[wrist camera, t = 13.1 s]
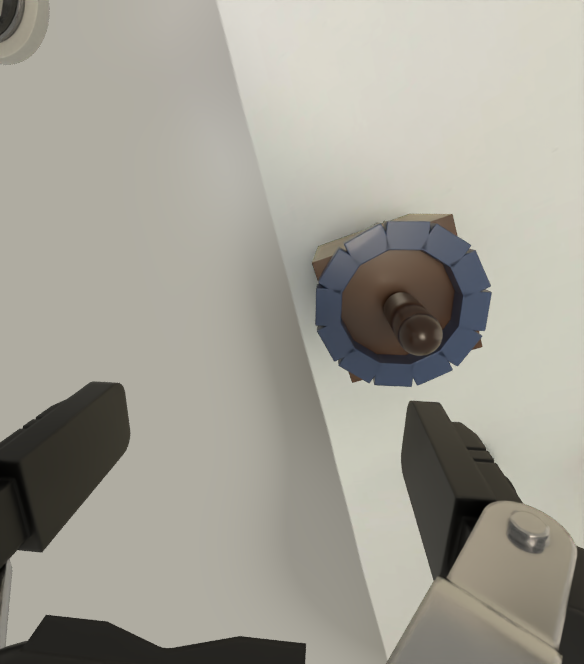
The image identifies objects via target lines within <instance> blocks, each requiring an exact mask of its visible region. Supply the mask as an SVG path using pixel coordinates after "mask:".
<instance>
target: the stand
mask: <svg viewBox="0 0 584 664" xmlns="http://www.w3.org/2000/svg"><path fill="white" fill-rule="evenodd" d="M391 221H430V223H436V224H439V225H440V226H442V227H443V228H445V229H446V230H448V231H450V232H451V233H453V234H454V235H456V236H457V232H456V227H455V223H454V219H453V214H408V215H405V216H402V217H399V218H396V219H394V220H391ZM382 226H383V223H382ZM360 232H361V231H360ZM360 232H357V233H354V234H351V235H348V236H346V237H343V238H340V239H337V240H334V241H331V242H329V243H326V244H323V245H320V246H318V248H317V251H316V253H315V256H314V259H313V261H312V265H313V268H314V271H315V274H316V277H317V280H318V281H319V277H320V275H321V274H322V272H323V271H324V269H325V267H326V266H327V264H328V262H329V261H330V259H331V258H332V256H333V254H334V253H335V251H336V249H337V248H338V247H341V248H343V249H344V250H346V248H345V246H344V244H343V242H344V241H345V240H347V239H349V238H351V237H353V236H354V235H356V234H358V233H360ZM346 251H347V250H346ZM454 293H455V290H454V287H453V285H452V283H451V281H450V279H449V277H448V274H447V272H446V270H445V268H444V266H443V264H442V263H440V262H439V261H437V260H436V259H434V258H432V257H431V256H429V255H428V254H426V253H424V252H423V251H421V250H388V251H386V252H384V253H382V254H380V255H379V256H377V257H375V258H373V259H371V260H369V261H368V262H366V263H364V264H362V265H360V266H359V268H358V269H357V271H356V272H355V274H354V275H353V277H352V278H351V280H350V282H349V283H348V285H347V286H346V288H345V289H344V291H343V292H342V311H341V318H342V320H343V322H344V324H345V326H346V327H347V329H348V331H349V333H350V335H351V337H352V338H353V340H354V341H355V342H357V343H359V344H361V345H362V346H364V347H366V348H367V349H369V350H371V351H372V352H374V353H376V354H383V355H408V354H413V355H417V356H423V355H428V354H430V353H432V352H434V351H435V350H436V349H437V348H438V347H439V345H440V344H441V341H442V336H443V331H442V330H443V329H444V328H445V326H446V325H447V324H448V323H449V321H450V320H451V315H452V307H453V300H454ZM477 332H478V333H479V331H477ZM481 347H482V342H481V339H480V340H479V341H478V342H477V344H476V345H475V346H474V347H473V348H472V350H473V349H477V348H481ZM348 372H349V371H348ZM349 375H350V378H351V381H352V383H353V382H357V381H361V380H362V379H361V378H359V377H357V376H356V375H354V374H352V373H350V372H349Z"/></svg>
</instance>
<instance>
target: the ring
mask: <svg viewBox="0 0 584 664" xmlns="http://www.w3.org/2000/svg"><path fill="white" fill-rule="evenodd" d="M343 244H344V246H345V248H346V250H347V251H346V250H344V249H343V248H341V247H338V248H337V249H336V251H335V253H334V254H333V256H332V258H331V259H330V261H329V262H328V264H327V266H326V267H325V269H324V271H323V272H322V274H321V275H320V277H319V281H318V283H319V284H317V288H316V320H315V325H316V326H318V327H317V332H318V334H319V336H320V337H321V339H322V341H323V343H324V344H325V346H326V348H327V350H328V351H329V353H330V355H331V357H332V358H333V360H334V361H337V360H338V364H339V366H340V367H342V368H344V369H345V370H347V371H349V372H350V373H352V374H354V375H356V376H357V377H359V378H361V379H362V380H364V381H366V382H368V383H370V382H371V380H372V379H373V381H374V385H383V386H405V387H412V380H413V379H414V380H415V382H416V384H417V385H420V384H423V383H425V382H427V381H429V380H432V379H434V378H436V377H438V376H441V375H443V374H445V373H448V372H450V371H452V370H453V369H452V367H451V365H450V363H449V362H451V363H452V364H454V365H456V366H458V365H459V364H460V363H461V362H462V361H463V359H464V358H465V357H466V356H467V355H468V353H469V352H470V351H471V350H472V348H473V347H474V346H475V345H476V344H477V342H478V341H479V340H480V339H481V337H482V335H480V334H479V333H478V332H477V331H485V329H486V323H487V317H488V311H489V305H490V299H491V294H492V292H490V291H488V290H486V288H488V287H490V286H491V285H490V283H489V280H488V278H487V276H486V273H485V271H484V269H483V266H482V264H481V262H480V260H479V257H478V255H477V253H476V251H475V250H472V249H469V248H470V247H471V245H470V244H469V243H467V242H465V241H464V240H462V239H461V238H459V237H458V236H456V235H454V234H453V233H451V232H450V231H448V230H446V229H445V228H443V227H442V226H440V225H439V224H436V223H430V221H384V222H383V226H382V224H381V223H376V224H374V225H372V226H370V227H369V228H367V229H365V230H363V231H361V232H360V233H358V234H356V235H354V236H353V237H351V238H349V239H347V240H345V241H344V242H343ZM388 250H421V251H423V252H424V253H426V254H428V255H429V256H431V257H432V258H434V259H436V260H437V261H439V262H440V263H442V264H443V266H444V268H445V270H446V272H447V274H448V277H449V279H450V281H451V283H452V285H453V287H454V290H455V293H454V300H453V307H452V315H451V320H450V321H449V323H448V324H447V325H446V326H445V328H444V329H443V330H442V331H443V336H442V341H441V344H440V345H439V347H438V348H437V349H436V350H435V351H434V352H432V353H430V354H428V355H423V356H417V355H413V354H408V355H383V354H376V353H374V352H372V351H371V350H369V349H367V348H366V347H364V346H362V345H361V344H359V343H357V342H355V341H354V340H353V338H352V337H351V335H350V333H349V331H348V329H347V327H346V326H345V324H344V322H343V320H342V318H341V311H342V292H343V291H344V289H345V288H346V286H347V285H348V283H349V282H350V280H351V278H352V277H353V275H354V274H355V272H356V271H357V269H358V268H359V266H360V265H362V264H364V263H366V262H368V261H369V260H371V259H373V258H375V257H377V256H379V255H380V254H382V253H384V252H386V251H388Z"/></svg>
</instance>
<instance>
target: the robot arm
mask: <svg viewBox="0 0 584 664" xmlns="http://www.w3.org/2000/svg"><path fill="white" fill-rule="evenodd" d="M24 8H25V0H0V43H1V42H3V41H6V40H7V39H9V38H10V37H11V36H12V35H13V34H14V33H15V32H16V30H17V29H18V27H19V25H20V23H21V21H22V18H23V14H24ZM129 440H130V426H129V418H128V411H127V404H126V396H125V390H124V387H123V386H122V385H121V384H120V383H111V382H90V383H89V384H87V385H86V386H85V387H83V388H82V389H81V390H79V391H78V392H76V393H75V394H74V395H72V396H71V397H69V398H68V399H66V400H64V401H62V402H60V403H57V404H55V405H53V406H51V407H50V408H48V409H47V410H45V411H44V412H42V413H41V414H40V415H38V416H37V417H36V419H33V420H31V421H30V422H28V423H27V424H26V425H24V426H23V429H19V430H17V431H16V432H14V433H13V434H12V435H10V436H9V437H7V438H6V439H4V440H3V441H2V442H0V664H305V653H306V644H305V643H296V642H287V641H277V640H269V639H260V638H251V637H242V636H238V637H232V638H227V639H221V640H215V641H209V642H204V643H198V644H192V645H187V646H182V647H176V648H162V647H159V646H157V645H155V644H153V643H151V642H149V641H146V640H144V639H142V638H140V637H138V636H136V635H134V634H132V633H130V632H128V631H126V630H124V629H122V628H119V627H117V626H115V625H113V624H111V623H109V622H106V621H97V620H88V619H79V618H70V617H61V616H51V615H46V616H45V617H44V618H43V620H42V621H41V623H40V624H39V626H38V627H37V629H36V630H35V632H34V633H33V634H32V636H31V637H30V639H29V640H28V641H24V642H21V643H17V644H14V645H10V646H7V647H5V646H6V633H7V622H8V612H9V601H10V590H11V579H12V566H11V562H10V557H11V556H12V555H13V554H14V553H15V552H16V551H17V550H22V551H32V552H43V550H44V549H45V548H46V547H47V546H48V544H49V543H50V542H51V541H52V539H53V538H54V537H55V536H56V535H57V533H58V532H59V531H60V530H61V529H62V528H63V526H64V525H65V524H66V523H67V521H68V520H69V519H70V518H71V517H72V516H73V514H74V513H75V512H76V511H77V509H78V508H79V507H80V506H81V505H82V504H83V502H84V501H85V500H86V499H87V498H88V496H89V495H90V494H91V493H92V491H93V490H94V489H95V488H96V487H97V485H98V484H99V483H100V482H101V481H102V479H103V478H104V477H105V476H106V475H107V473H108V472H109V471H110V470H111V469H112V467H113V466H114V465H115V464H116V462H117V461H118V460H119V459H120V457H121V456H122V455H123V454H124V453H125V451H126V449H127V447H128V444H129ZM401 465H402V473H403V477H404V480H405V484H406V487H407V491H408V494H409V497H410V501H411V504H412V508H413V511H414V515H415V518H416V521H417V525H418V528H419V532H420V535H421V539H422V542H423V546H424V549H425V552H426V556H427V559H428V563H429V566H430V570H431V573H432V576H433V580H434V582H433V583H432V585H431V586H430V588H429V590H428V592H427V593H426V595H425V597H424V599H423V600H422V602H421V604H420V606H419V607H418V609H417V611H416V613H415V614H414V616H413V618H412V619H411V621H410V623H409V625H408V626H407V628H406V630H405V632H404V633H403V635H402V637H401V639H400V640H399V642H398V644H397V646H396V647H395V649H394V651H393V652H392V654H391V656H390V658H389V659H388V661H387V663H386V664H584V549H583V548H580V547H578V546H576V544H575V542H574V540H573V538H572V537H571V536H570V534H569V533H568V532H567V531H566V530H565V528H564V527H563V526H561V525H560V524H559V523H558V522H557V521H556V520H554V519H553V518H551V517H550V516H548V515H547V514H545V513H544V512H542V511H540V510H538V509H536V508H533V507H531V506H528V505H525V504H523V502H522V501H521V499H520V498H519V497H518V495H517V494H516V492H515V491H514V489H513V488H512V486H511V485H510V483H509V482H508V480H507V479H506V477H505V476H504V474H503V473H502V471H501V470H500V468H499V467H498V465H497V464H496V463H494V459H493V458H492V456H491V455H490V453H489V452H488V451H486V447H485V446H484V444H483V443H482V441H481V440H480V439H479V437H478V436H477V434H475V433H474V432H473V431H471V430H470V429H469V428H467V427H466V426H465V425H463V424H462V423H461V422H451V421H450V419H449V417H448V415H447V414H446V412H445V410H444V409H443V407H442V405H441V404H440V403H438V402H422V401H410V402H409V404H408V407H407V413H406V421H405V428H404V436H403V443H402V452H401Z"/></svg>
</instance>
